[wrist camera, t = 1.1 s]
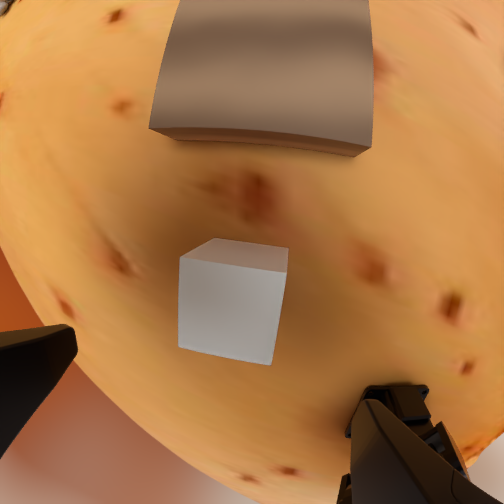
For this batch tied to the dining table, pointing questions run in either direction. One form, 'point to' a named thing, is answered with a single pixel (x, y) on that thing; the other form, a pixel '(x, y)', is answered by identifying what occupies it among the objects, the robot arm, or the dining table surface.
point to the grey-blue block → (231, 299)
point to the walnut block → (269, 74)
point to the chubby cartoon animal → (4, 5)
